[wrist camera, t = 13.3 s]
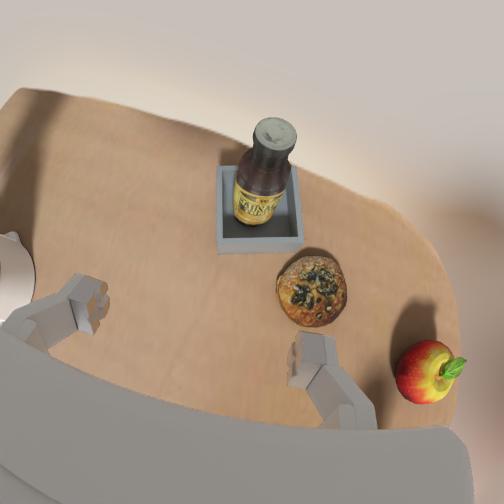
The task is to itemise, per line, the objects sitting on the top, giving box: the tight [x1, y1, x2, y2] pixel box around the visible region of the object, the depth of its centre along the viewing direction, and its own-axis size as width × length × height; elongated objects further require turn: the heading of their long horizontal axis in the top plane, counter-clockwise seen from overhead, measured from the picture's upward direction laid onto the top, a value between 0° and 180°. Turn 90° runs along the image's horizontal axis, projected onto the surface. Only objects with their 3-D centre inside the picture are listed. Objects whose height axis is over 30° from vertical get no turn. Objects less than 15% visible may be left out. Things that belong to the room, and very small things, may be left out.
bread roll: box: [276, 256, 347, 327], centre depth 42 cm, size 11×11×5 cm
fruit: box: [396, 340, 467, 404], centre depth 37 cm, size 11×11×10 cm
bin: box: [216, 165, 305, 254], centre depth 42 cm, size 12×12×6 cm
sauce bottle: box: [232, 118, 297, 227], centre depth 35 cm, size 6×6×20 cm
